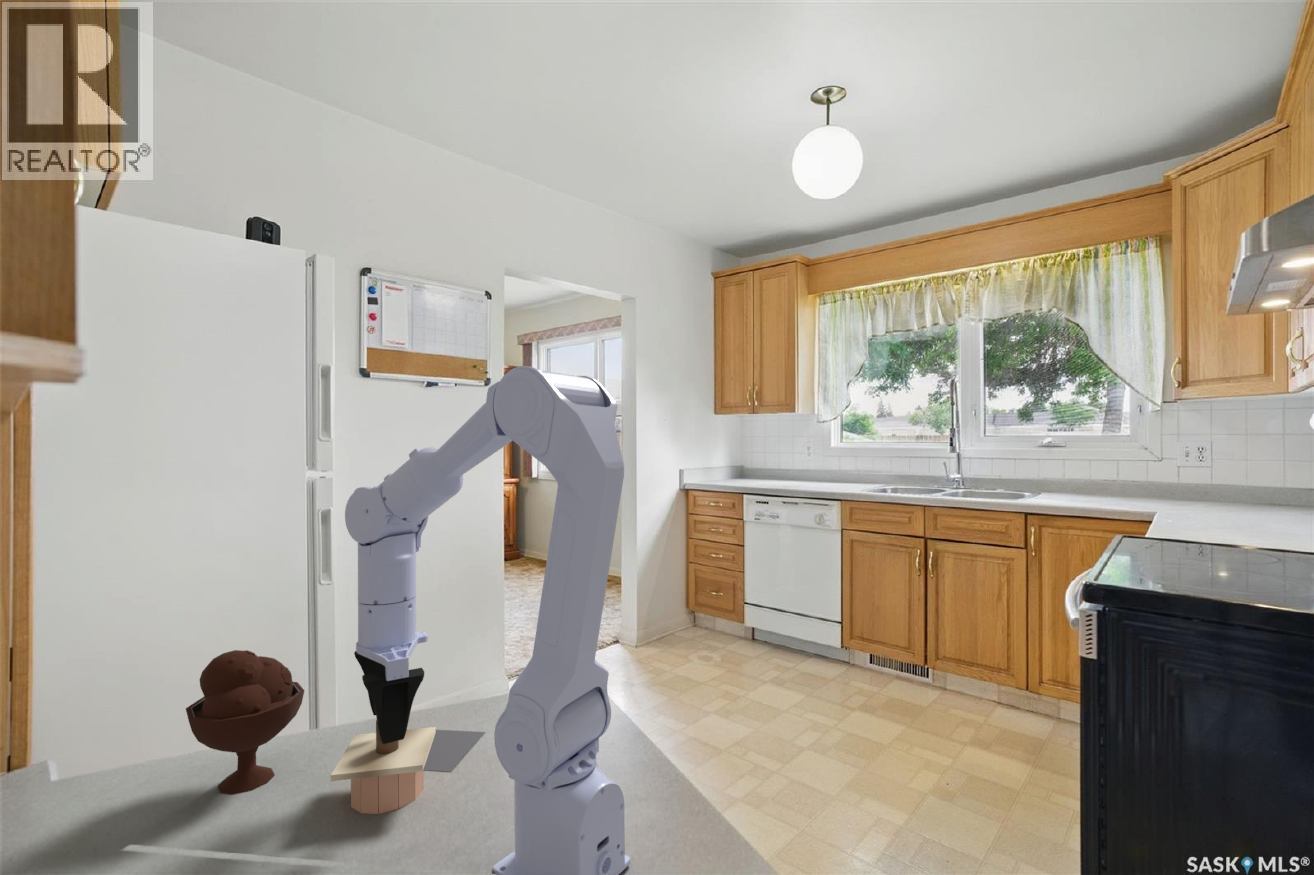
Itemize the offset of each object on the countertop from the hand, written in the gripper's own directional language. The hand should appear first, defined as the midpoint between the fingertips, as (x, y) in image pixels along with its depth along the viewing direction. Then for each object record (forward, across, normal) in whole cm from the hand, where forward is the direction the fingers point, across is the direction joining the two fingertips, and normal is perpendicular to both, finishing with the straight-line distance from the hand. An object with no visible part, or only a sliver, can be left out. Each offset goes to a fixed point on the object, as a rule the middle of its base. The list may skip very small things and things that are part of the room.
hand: (387, 725), depth 65 cm
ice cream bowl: (+8, +11, +13) cm, 19 cm away
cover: (+3, 0, 0) cm, 3 cm away
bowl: (+8, 0, 0) cm, 8 cm away
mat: (+8, +8, -6) cm, 12 cm away
